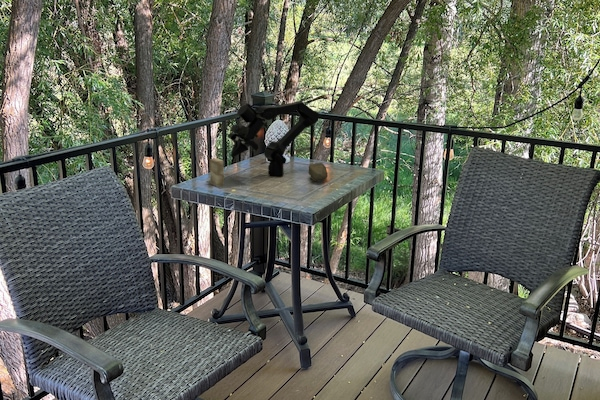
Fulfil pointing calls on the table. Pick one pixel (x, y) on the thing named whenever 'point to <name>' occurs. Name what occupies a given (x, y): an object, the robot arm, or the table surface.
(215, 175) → the maple block
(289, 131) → the robot arm
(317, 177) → the stone
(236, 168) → the table surface
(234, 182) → the rubber mat
